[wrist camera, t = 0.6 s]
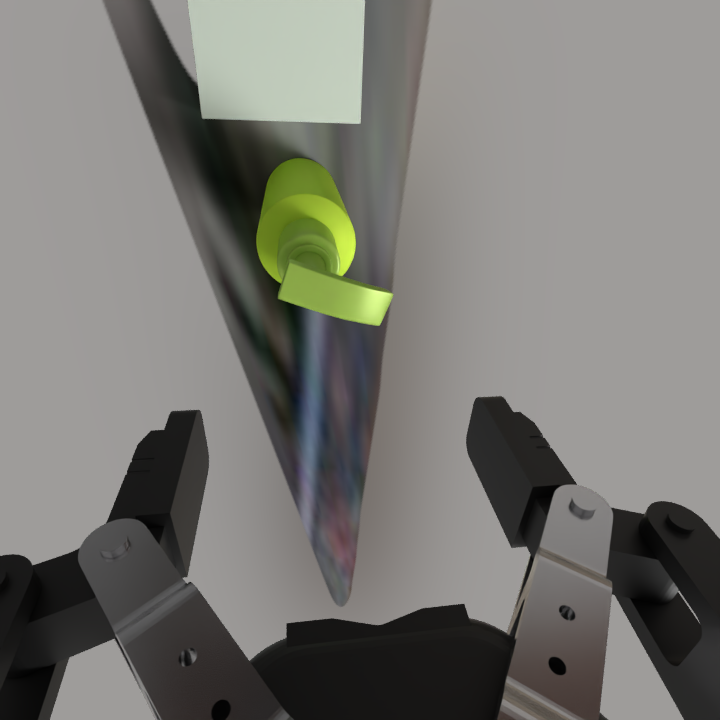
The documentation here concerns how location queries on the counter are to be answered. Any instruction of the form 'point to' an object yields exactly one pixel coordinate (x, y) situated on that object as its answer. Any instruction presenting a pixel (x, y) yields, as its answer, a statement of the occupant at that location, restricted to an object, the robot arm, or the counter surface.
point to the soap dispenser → (313, 245)
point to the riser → (279, 59)
